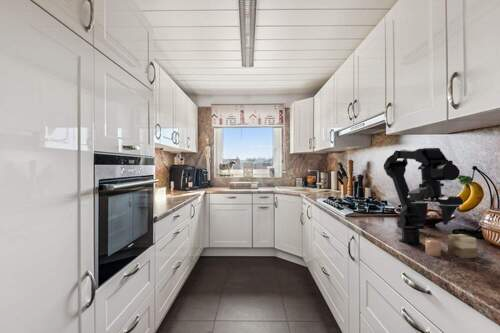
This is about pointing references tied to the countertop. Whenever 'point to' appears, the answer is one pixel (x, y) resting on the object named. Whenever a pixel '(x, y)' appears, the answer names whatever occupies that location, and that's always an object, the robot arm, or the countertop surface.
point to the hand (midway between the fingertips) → (433, 222)
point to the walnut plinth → (463, 251)
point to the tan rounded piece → (433, 247)
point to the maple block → (462, 241)
